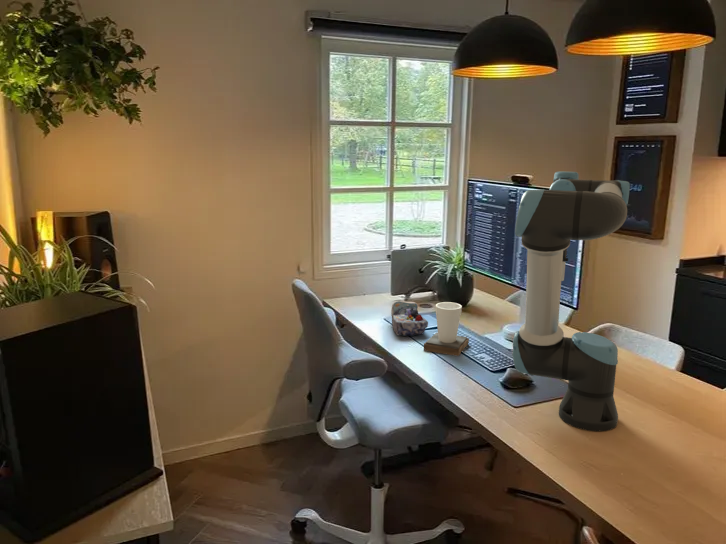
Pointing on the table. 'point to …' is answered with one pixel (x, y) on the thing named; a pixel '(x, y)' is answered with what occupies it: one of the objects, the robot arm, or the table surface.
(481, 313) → the table surface
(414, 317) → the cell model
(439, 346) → the stand
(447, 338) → the foam cup
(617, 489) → the table surface
